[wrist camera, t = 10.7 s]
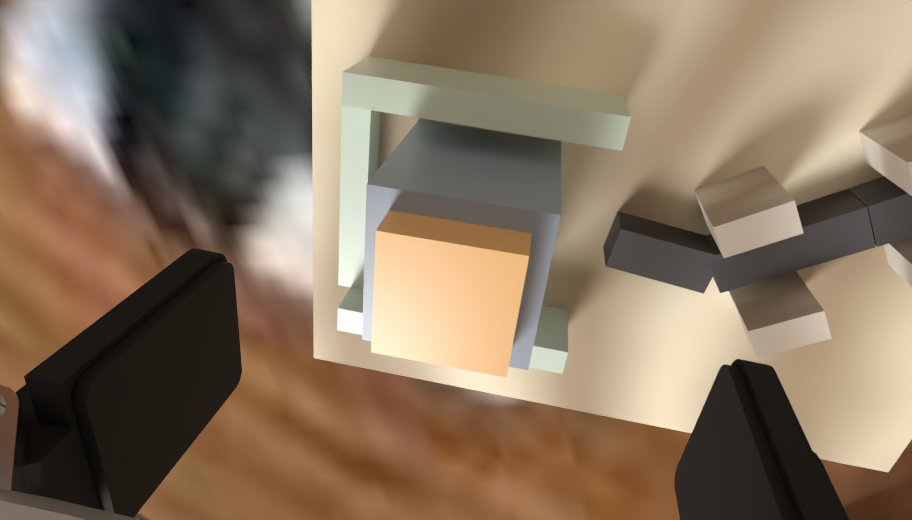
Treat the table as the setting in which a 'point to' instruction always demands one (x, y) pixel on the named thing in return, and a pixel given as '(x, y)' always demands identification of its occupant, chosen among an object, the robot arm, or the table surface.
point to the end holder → (466, 104)
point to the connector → (460, 246)
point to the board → (683, 200)
